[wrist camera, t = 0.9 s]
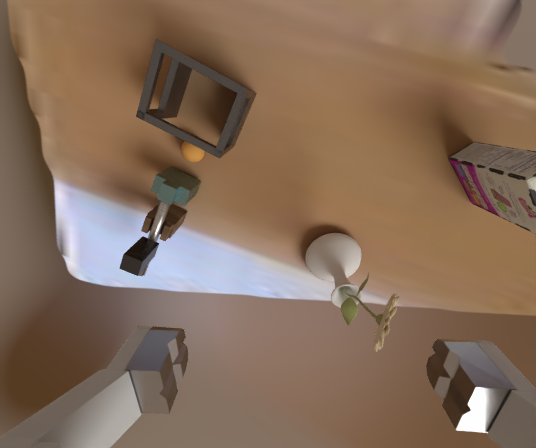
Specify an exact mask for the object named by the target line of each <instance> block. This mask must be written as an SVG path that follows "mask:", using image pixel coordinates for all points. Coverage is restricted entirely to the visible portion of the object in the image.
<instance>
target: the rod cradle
mask: <svg viewBox="0 0 536 448" xmlns="http://www.w3.org/2000/svg"><path fill="white" fill-rule="evenodd" d="M158 206H159V205H158ZM158 206H156V207H155V208H154V209H153V210H151V211H150V212H149V213H148V215H147V216H146V218H145V221H144V224H143V227H142V230H141V231H143V232H145V233H148V232H149V231H150V230H151V227H152V224H153V221H154V218H155V215H156V212H157V209H158ZM186 213H187V211H186V210H183V209H181V208H179V207H177V206H175V205H173V204H171V205H170V206H169V209H168V212H167V214H166V217H165V220H164V223H163V226H162V228H161V231H160V234H161V237H160V239H161V240H163V241H166V240H167V239H168V238H171V236H172V235H173V234H174V233H175V232H176V230H177V229H178V228H179V227H180V226H181V225H182V223H183V221H184V218H185V216H186Z"/></svg>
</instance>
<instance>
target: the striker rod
mask: <svg viewBox="0 0 536 448" xmlns="http://www.w3.org/2000/svg"><path fill="white" fill-rule="evenodd" d="M200 183H201V181H200V180H198V179H196V178H194V177H192V176H189V175H187V174H185V173H183V172H181V171H179V170H177V169H175V168H173V167H170V168H168V169H166V170H164V171H162V172H161V173H159V174H157V175H156V177H155V180H154V183H153V186H152V189H151V191H153V192H155V193H157V194H158V196H157V199H158V200H160V203H159V206H158V209H157V212H156V215H155V218H154V221H153V224H152V227H151V230H150V233H149V236H148V238H145V237H142V238H141V239H139V240H138V241H137V242H136V243H135V244H134V245H133V246H132V247H131V248H130V249H129V250H128V251H127V252H126V253H124V255H123V259H122V262H121V265H120V269H122V270H124V271H127V272H129V273H132V274H134V275H137V276H138V275H139V276H143V275H145V273H146V271H147V268H148V265H149V262H150V261H151V260H152V259H153V258H154V256H155V254H156V251H157V248H158V245H159V243H157V240H158V237H159V234H160V231H161V228H162V226H163V223H164V220H165V217H166V214H167V212H168V209H169V206H170V205H171V204H173V203H174V202H177V203H179V204H181V205H183V206H185V205H186V204H187V203H188V202H189V201H190V200H191V199H192V198H193V197H194V196H195V195H196V193H197V191H198V188H199V186H200Z"/></svg>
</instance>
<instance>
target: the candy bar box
mask: <svg viewBox="0 0 536 448" xmlns="http://www.w3.org/2000/svg"><path fill="white" fill-rule="evenodd" d="M449 161H450V163H451V164H452V166H453V168H454V170H455V172H456V174H457V176H458V177H459V179H460V181H461V183H462V185H463V187H464V189H465V191H466V193H467V194H468V196H469V198H470V200H471V202H472V204H474V205H476V206H478V207H480V208H482V209H484V210H486V211H489V212H491V213H493V214H495V215H497V216H499V217H501V218H503V219H505V220H508V221H510V222H511V223H514V224H516V225H518V226H520V227H522V228H524V229H526V230H528V231H530V232H532V233H534V234H536V152H535V151H529V150H522V149H515V148H509V147H504V146H497V145H490V144H484V143H477V142H473V143H472V144H470V145H468V146H467V147H465V148H464V149H462V150H461V151H459V152H457V153H456V154H454V155H453V156H451V157H449Z"/></svg>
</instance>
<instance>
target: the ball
mask: <svg viewBox="0 0 536 448" xmlns="http://www.w3.org/2000/svg"><path fill="white" fill-rule="evenodd" d="M181 152H182V155H183V157H184V158H185V159H186V160H188V161H190V162H198V161H200V160H201V159H202V158H203V157H204V154H205V151H204V150H202V149H200V148H198V147H196V146H194V145H192V144H190V143H188V142H186V141H185V142H184V143H183V144H182V147H181Z"/></svg>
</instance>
